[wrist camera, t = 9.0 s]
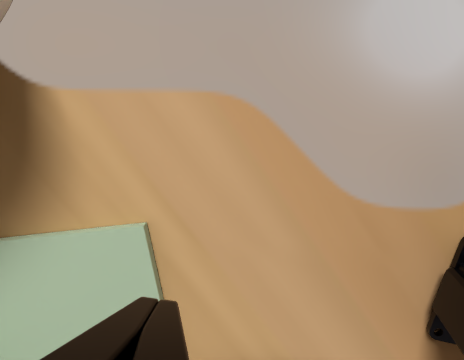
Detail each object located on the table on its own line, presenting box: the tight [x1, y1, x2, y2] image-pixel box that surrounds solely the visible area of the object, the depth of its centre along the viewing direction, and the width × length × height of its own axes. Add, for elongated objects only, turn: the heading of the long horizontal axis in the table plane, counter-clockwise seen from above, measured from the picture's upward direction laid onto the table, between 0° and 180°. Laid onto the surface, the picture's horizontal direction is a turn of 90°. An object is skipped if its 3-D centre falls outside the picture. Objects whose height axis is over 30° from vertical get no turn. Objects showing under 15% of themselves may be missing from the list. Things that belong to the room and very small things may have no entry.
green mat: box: [0, 222, 164, 360], centre depth 26 cm, size 21×13×1 cm, turn 99°
